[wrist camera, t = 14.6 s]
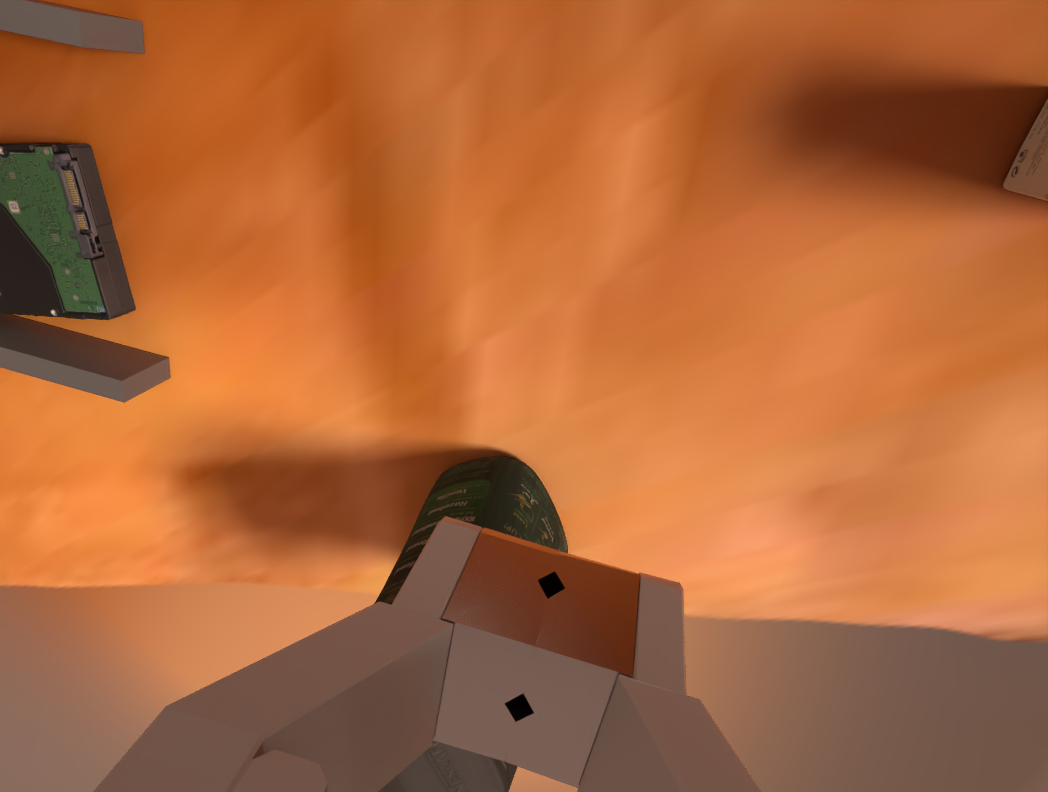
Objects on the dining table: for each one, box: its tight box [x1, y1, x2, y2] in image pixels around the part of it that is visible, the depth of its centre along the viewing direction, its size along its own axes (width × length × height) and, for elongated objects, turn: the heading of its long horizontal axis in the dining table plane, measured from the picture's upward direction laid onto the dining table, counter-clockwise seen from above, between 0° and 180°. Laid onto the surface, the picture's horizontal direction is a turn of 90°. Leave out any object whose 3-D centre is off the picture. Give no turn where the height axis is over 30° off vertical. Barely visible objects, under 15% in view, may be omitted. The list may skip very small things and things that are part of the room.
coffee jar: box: [374, 456, 568, 792], centre depth 33 cm, size 10×8×19 cm
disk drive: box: [0, 143, 136, 320], centre depth 39 cm, size 10×3×15 cm
